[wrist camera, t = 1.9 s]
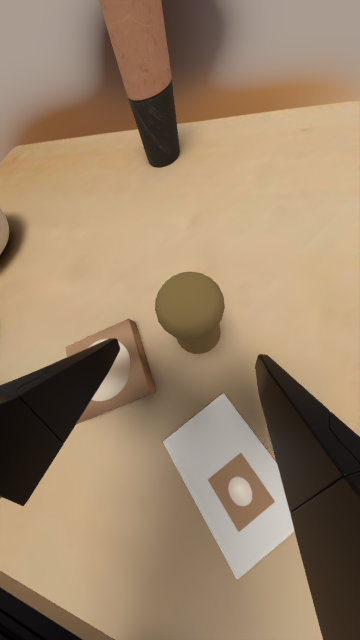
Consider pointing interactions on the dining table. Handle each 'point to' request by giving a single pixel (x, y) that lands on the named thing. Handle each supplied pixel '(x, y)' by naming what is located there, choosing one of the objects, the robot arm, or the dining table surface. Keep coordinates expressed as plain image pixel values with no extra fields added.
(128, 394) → the plinth
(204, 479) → the white flat piece
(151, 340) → the dining table surface
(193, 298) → the cork
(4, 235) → the serving bowl
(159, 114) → the travel mug
